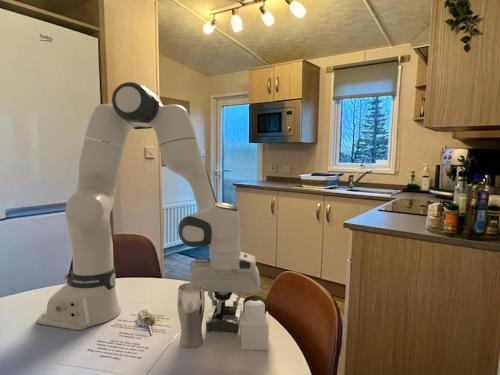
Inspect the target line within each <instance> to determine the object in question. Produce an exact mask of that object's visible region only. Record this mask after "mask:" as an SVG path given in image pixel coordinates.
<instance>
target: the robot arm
mask: <svg viewBox="0 0 500 375" xmlns="http://www.w3.org/2000/svg"><path fill="white" fill-rule="evenodd" d="M132 129H134V130H142V129H143V130H144V129H148V130H149V129H153V130H154V132H155V134H156V135H155V136H156V139H157V143H158V147H159V151H160V157H161V160H162V161H163V163H164V165H165V167H166V168H167V169H168V170H169V171H170V172H171V173H174V174H176V175H178V176H180V177H182V178H183V179H185V180H186V181H187V182H188V184H189V185H190V187H191V190H192V193H193V196H194V200H195V203H196V205H197V212H194V213H191V214H189V215H187V216H185V217H183V218H181V220H180V222H179V224H178V226H177V227H178V228H177V234H178V237H179V239H180V241H181V242H182V243H183V244H184V245H185V246H187V247H189V248H201V247H209V258H194V259H193V260H192V261H190V262H189V272H190V278H189V279H190V281H189V283H200V284H202V285H203V286H204V293H205V292H207V296H208V298H209V299H210V300H211V307H212V306H217V304H218V299H216V298H215V297H214V292H232V293H236V295H237V297H236V298H233V300H232V305H233V306H235V307H238V305H239V304H240V303H239V301H240V300H241V298H242V296H243V293H245V294H246V293H247V294H248V293H249V294H257V293H259V291H260V288H261V278H260V272H259V268H258V266H257V260H256V256H255V255H252V254H249V253H247V252H243V251H242V250H241V245H240V237H241V232H242V231H241V218H240V217H241V216H240V212H239V208H237V207H236V206H235V205H233V204H231V203H227V202H218V201H217V198H216V194H215V192H214V189H213V186H212V182H211V179H210V176H209V172H208V170H207V168H206V164H205V163H204V160H203V157H202V155H201V151H200V147H199V143H198V139H197V135H196V132H195V128H194V125H193V121H192V119H191V117H190V115H189V112H188V110H187V109H186V108H185V107H184V106H182V105H179V104H175V103H174V104H172V103H171V104H166V105H165V103H164V102H163V100H162V99H161V98H160V97H159V96H158V95H157V93H155V92H154V91H153V90H151V89H150V88H147V87H146V86H145V85H142V84H141V83H138V82H134V81H130V82H129V81H127V82H124V83H121V84H120V85H118V86H117V87H116V88H115V89H114V91H113V92H112V96H111V103H102V104H98V105H97V106H96V107H94V109H93V111H92V114H91V116H90V119H89V121H88V124H87V128H86V131H85V134H84V139H83V144H82V149H81V153H80V158H79V163H78V167H79V168H78V179H77V180H78V181H77V187H76V191H75V193H73V194H72V195H70V197H69V198H68V200H67V202H66V203H65V210H64V212H65V218H66V222H67V228H68V234H69V237H70V238H69V239H70V242H71V253H72V254H71V256H72V270H71V271H69V272H68V273H67V274H65V275H64V281H66V280H67V279H68V281H67V283H65V285H63V286H62V287H61V288H60V289H59V290H57V291H56V292H55V293H53V294H52V295H51V297H50V298H49V299H48V301H47V305H46V309H45V310H44V311H42V313H41V314H40V315H39V316H38V318H37V324H38V323H39V325H44V326H50V327H57V328H63V329H70V330H76V331H80V330H81V331H82V330H85V329H88V328H89V327H92V326H95V325H96V326H97V325H99V324H103V323H105V322H106V323H107V322H109V321H111V320H113V319H114V318H116V317H117V316H118V315H119V314H120V312H121V306H120V305H119V301H118V300H119V299H118V297H117V293H116V292H117V291H116V277H117V276H116V266H115V265H114V245H113V237H112V229H111V228H112V227H111V212H112V210H113V208H114V204H115V199H116V192H117V187H118V183H119V177H120V176H119V175H120V170H121V169H120V168H121V165H122V161H123V156H124V151H125V146H126V141H127V137H128V135H129V132H130V131H131V130H132Z"/></svg>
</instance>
